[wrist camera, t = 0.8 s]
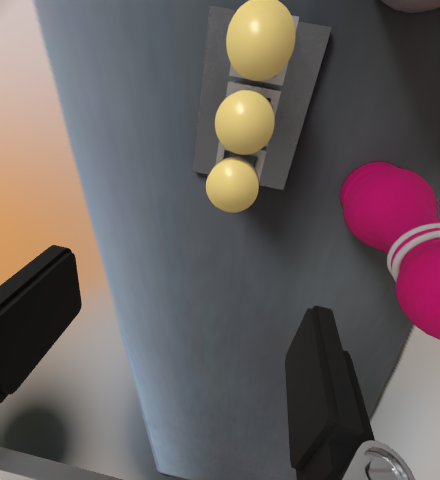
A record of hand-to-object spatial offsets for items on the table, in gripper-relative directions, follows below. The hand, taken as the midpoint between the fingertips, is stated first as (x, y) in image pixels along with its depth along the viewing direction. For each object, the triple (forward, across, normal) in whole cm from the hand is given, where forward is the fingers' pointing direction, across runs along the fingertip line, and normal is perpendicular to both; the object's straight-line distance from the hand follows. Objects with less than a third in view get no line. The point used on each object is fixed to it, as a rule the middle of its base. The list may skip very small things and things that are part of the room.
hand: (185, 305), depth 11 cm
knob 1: (+18, 0, -9) cm, 20 cm away
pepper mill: (+23, -14, +1) cm, 27 cm away
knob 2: (+18, 0, -5) cm, 19 cm away
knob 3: (+18, 0, 0) cm, 18 cm away
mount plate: (+22, 0, -5) cm, 23 cm away
